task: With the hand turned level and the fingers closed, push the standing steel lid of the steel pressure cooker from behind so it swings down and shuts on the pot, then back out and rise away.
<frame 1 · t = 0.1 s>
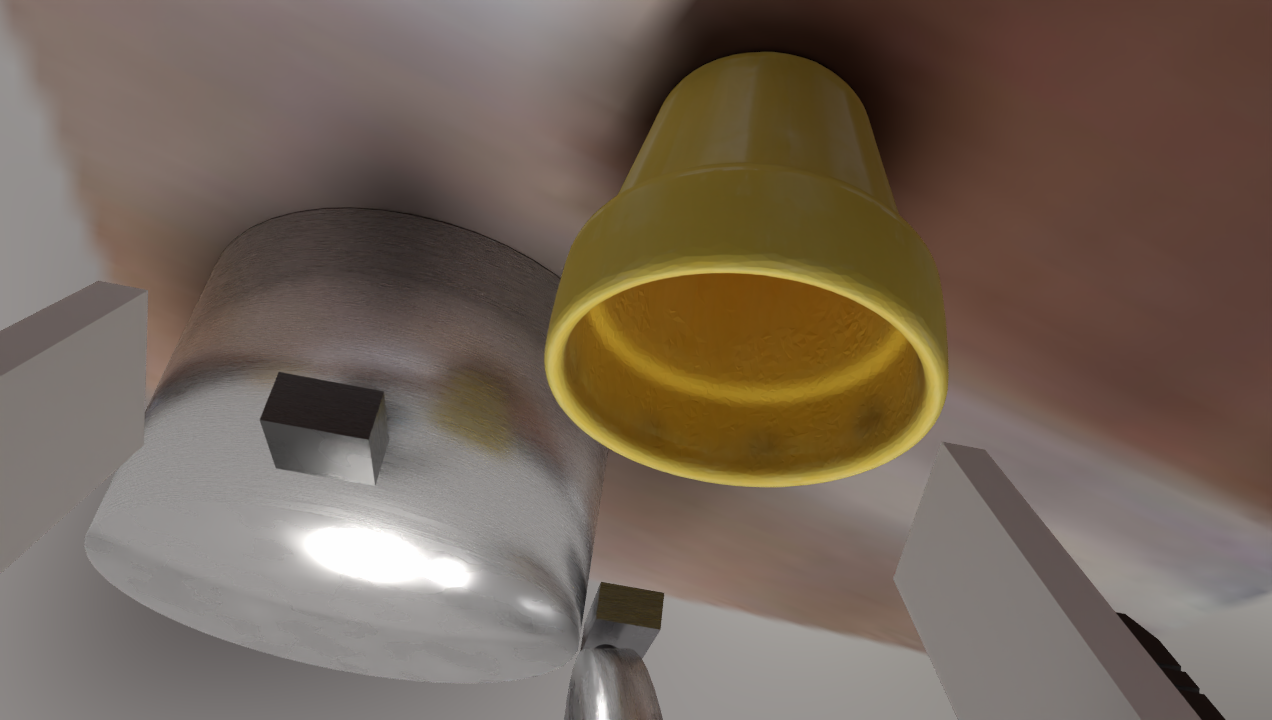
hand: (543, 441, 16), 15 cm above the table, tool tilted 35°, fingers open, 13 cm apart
plant pot: (757, 132, 30), on the table
pressure cooker: (419, 349, 42), on the table
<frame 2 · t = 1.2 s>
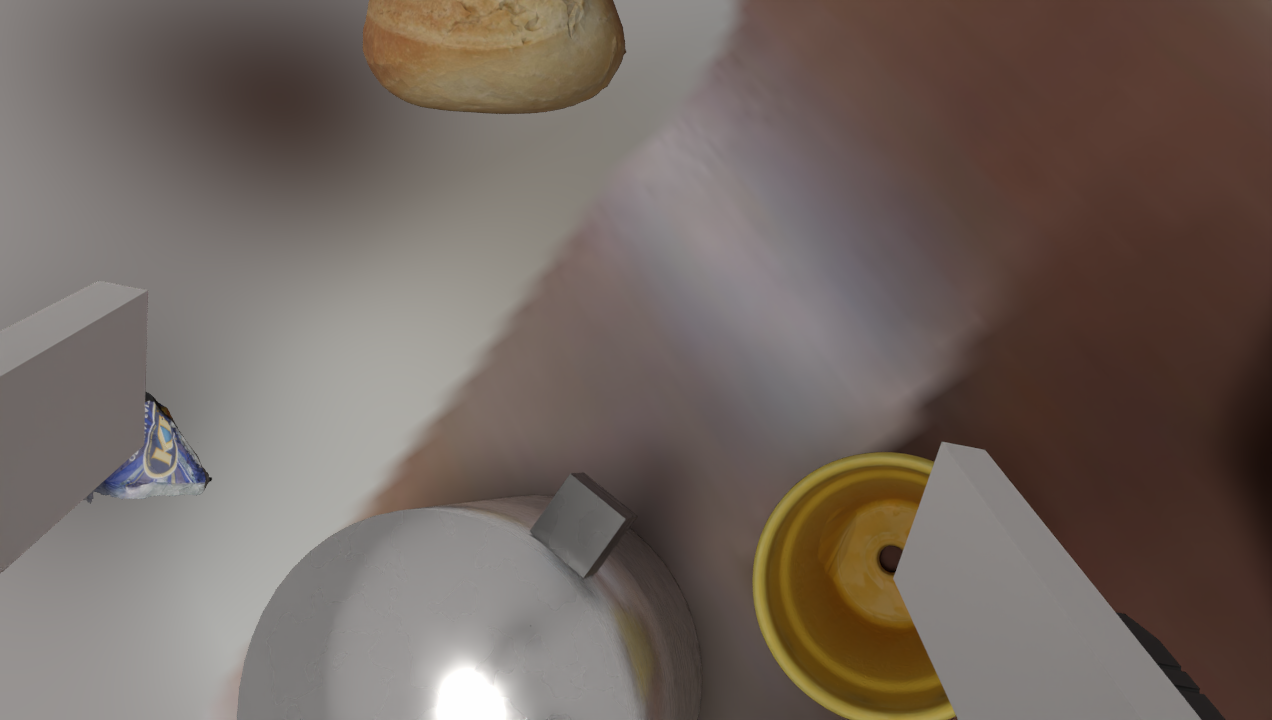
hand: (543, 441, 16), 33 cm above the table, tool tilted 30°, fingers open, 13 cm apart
plant pot: (893, 559, 45), on the table
pressure cooker: (536, 666, 50), on the table
snack package: (141, 438, 59), on the table
bread roll: (512, 54, 54), on the table
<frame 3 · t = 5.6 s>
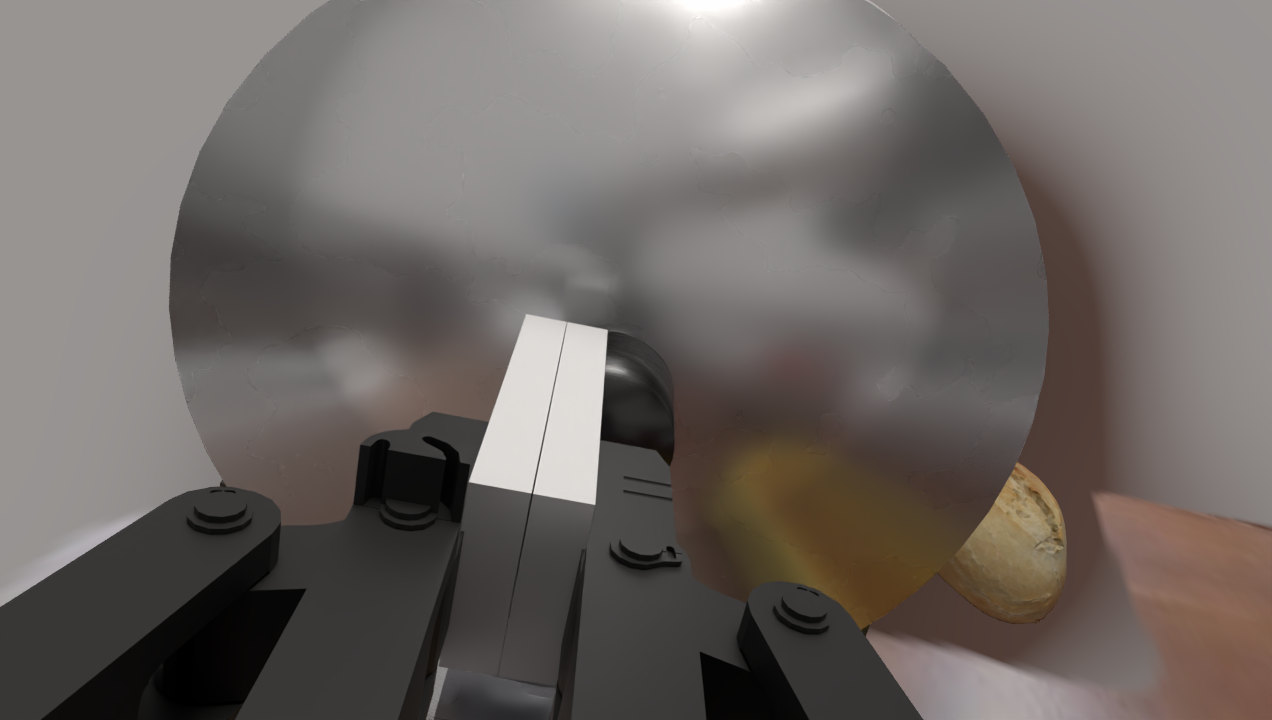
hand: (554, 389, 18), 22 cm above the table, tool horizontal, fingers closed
cooker lid: (604, 397, 20), point 21 cm above the table, hinge at 98.9°, touching gripper
bread roll: (944, 567, 61), on the table
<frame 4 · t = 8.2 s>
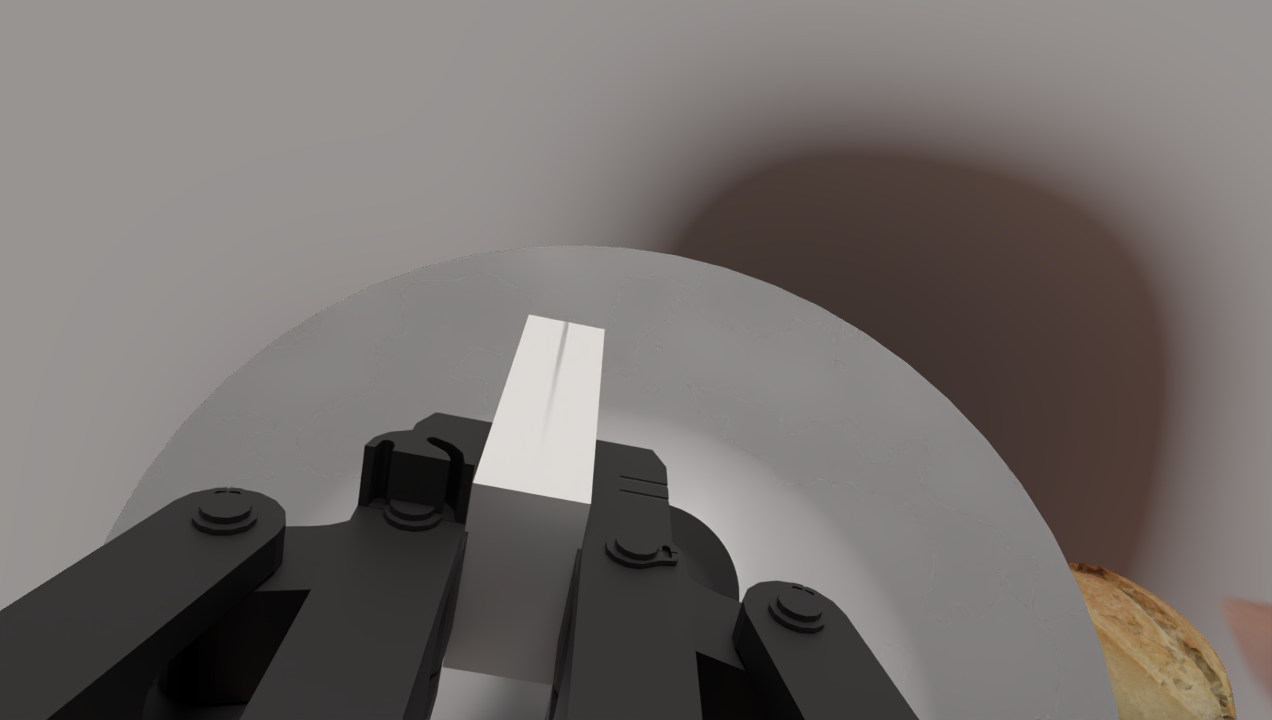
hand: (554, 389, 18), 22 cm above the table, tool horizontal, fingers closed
cooker lid: (632, 622, 17), point 19 cm above the table, hinge at 32.6°
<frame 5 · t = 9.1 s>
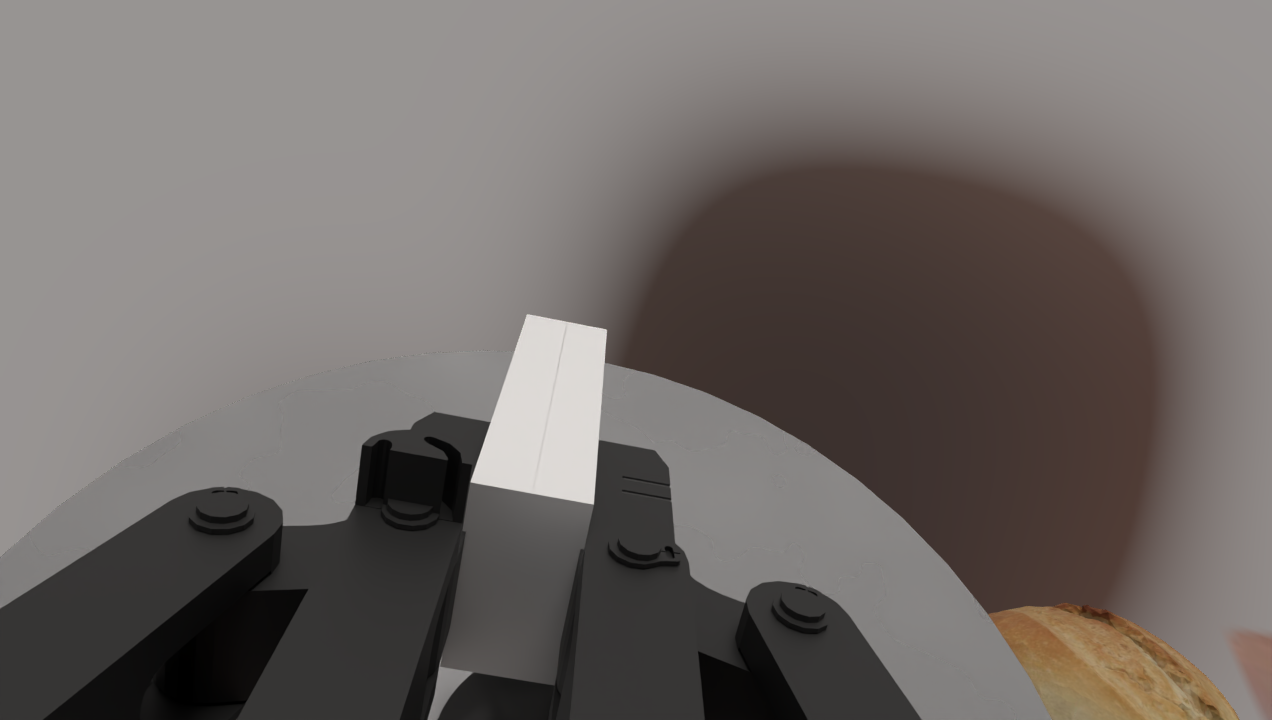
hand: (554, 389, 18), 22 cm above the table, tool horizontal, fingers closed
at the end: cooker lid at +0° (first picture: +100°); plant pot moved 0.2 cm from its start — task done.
